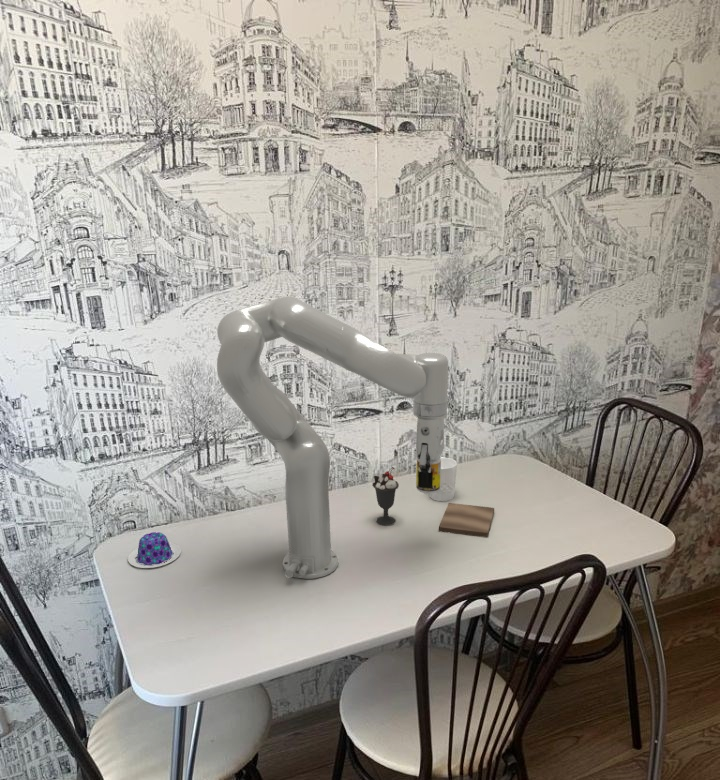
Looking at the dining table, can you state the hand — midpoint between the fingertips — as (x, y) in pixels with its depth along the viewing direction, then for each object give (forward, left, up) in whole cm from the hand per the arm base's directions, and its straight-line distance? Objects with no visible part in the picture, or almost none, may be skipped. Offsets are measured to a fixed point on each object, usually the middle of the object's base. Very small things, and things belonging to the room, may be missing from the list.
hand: (428, 481), depth 159 cm
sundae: (+8, +13, -16) cm, 22 cm away
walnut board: (+13, -7, -16) cm, 22 cm away
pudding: (-23, +61, -17) cm, 67 cm away
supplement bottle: (0, 0, -2) cm, 2 cm away
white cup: (+26, +2, -16) cm, 31 cm away
